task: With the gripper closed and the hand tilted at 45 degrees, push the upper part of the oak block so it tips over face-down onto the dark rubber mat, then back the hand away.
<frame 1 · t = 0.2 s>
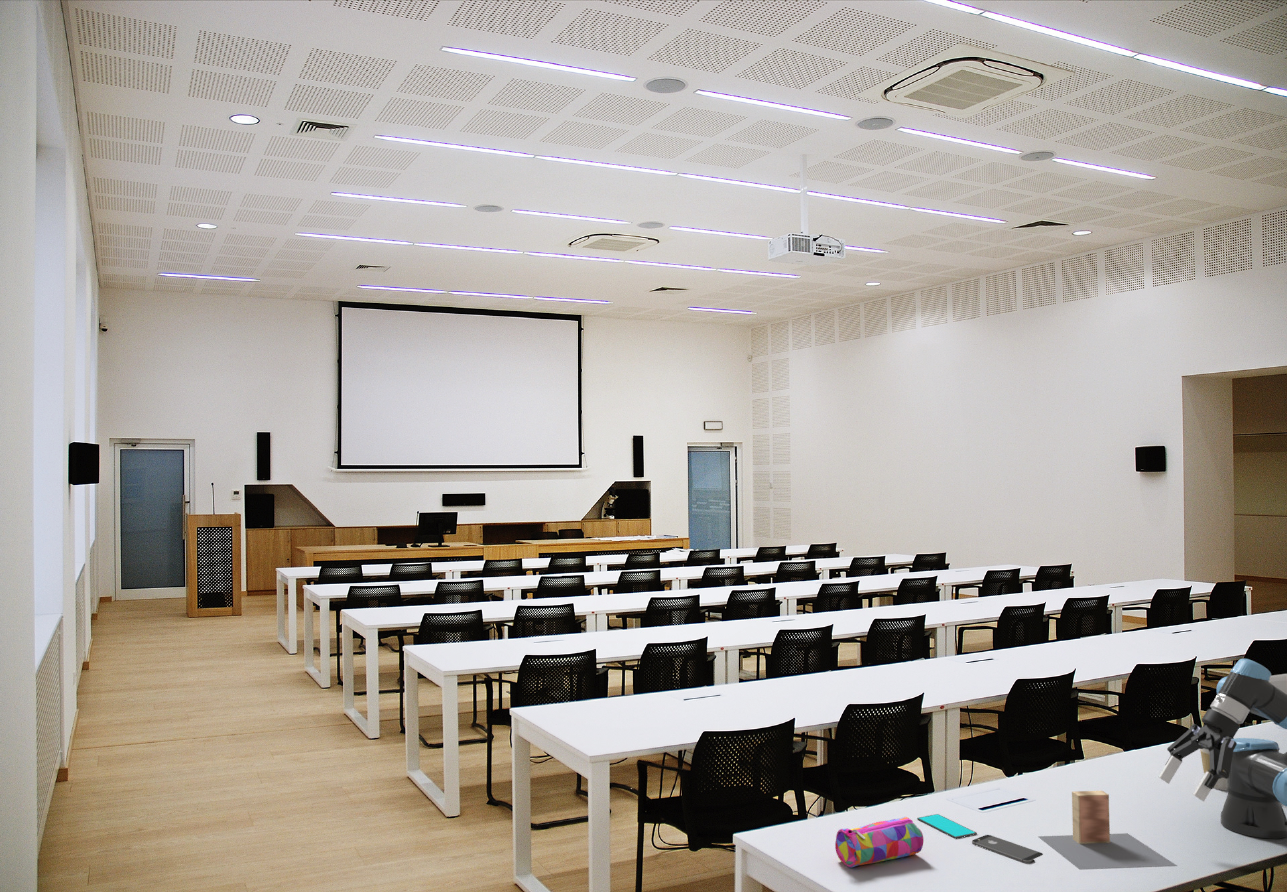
hand: (1180, 789, 229), 15 cm above the table, tool tilted 35°, fingers open, 13 cm apart
phone: (1007, 851, 231), on the table
pencil case: (879, 860, 225), on the table
oak block: (1091, 840, 234), point 1 cm above the table, touching rubber mat
coffee cup: (1218, 786, 276), on the table
smartphone: (946, 829, 246), on the table
rubber mat: (1104, 852, 228), on the table
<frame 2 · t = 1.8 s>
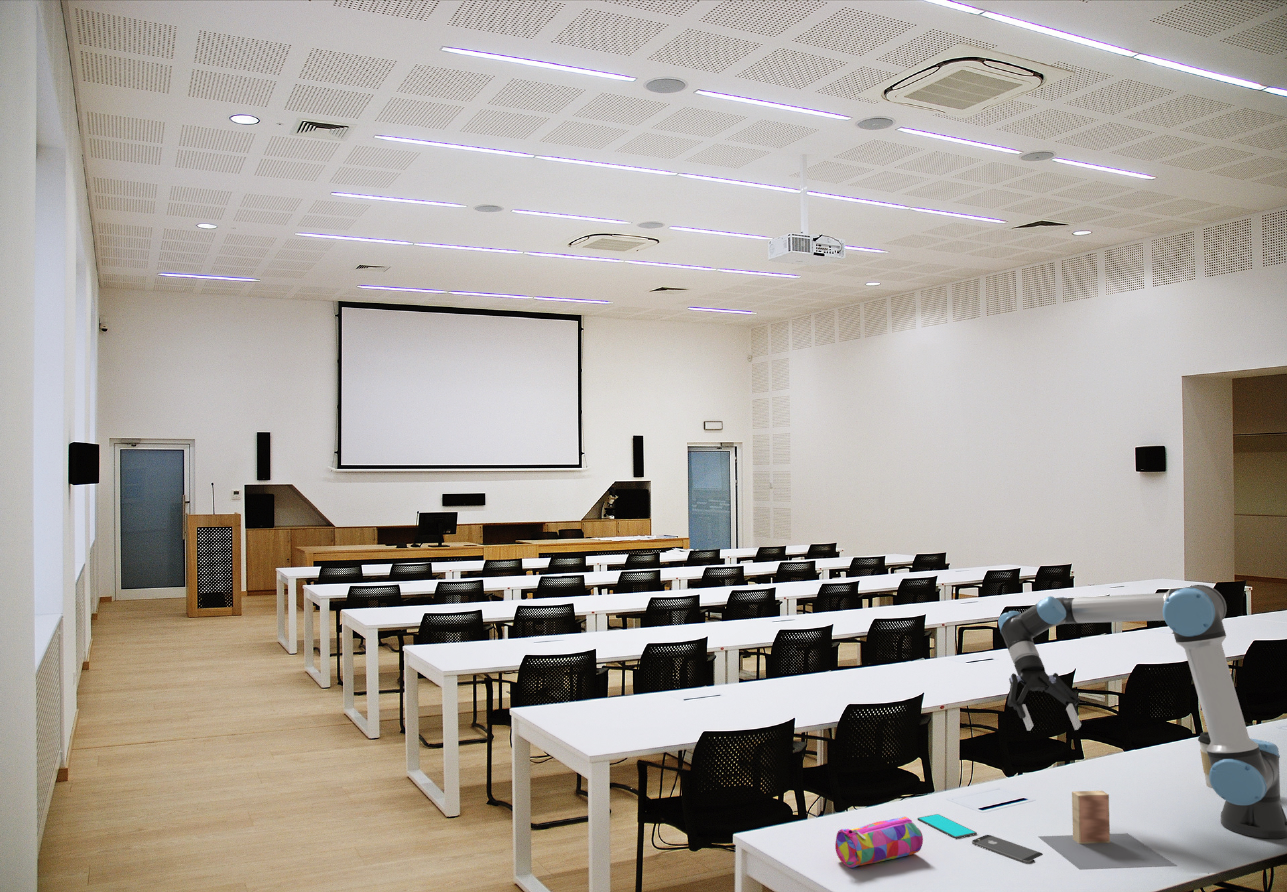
hand: (1054, 727, 253), 24 cm above the table, tool tilted 45°, fingers open, 13 cm apart
nothing on the table moved.
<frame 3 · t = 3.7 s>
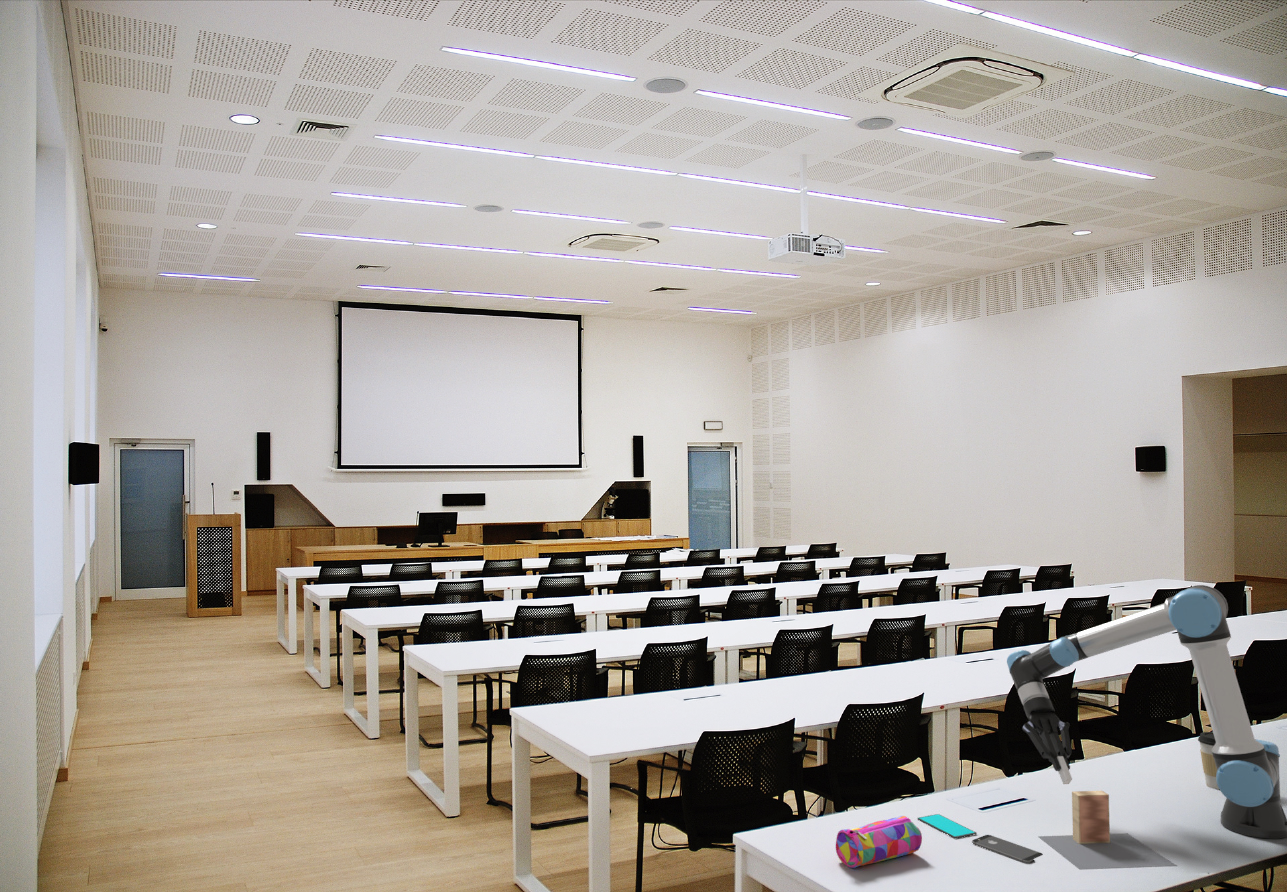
hand: (1067, 781, 244), 12 cm above the table, tool tilted 45°, fingers closed
nothing on the table moved.
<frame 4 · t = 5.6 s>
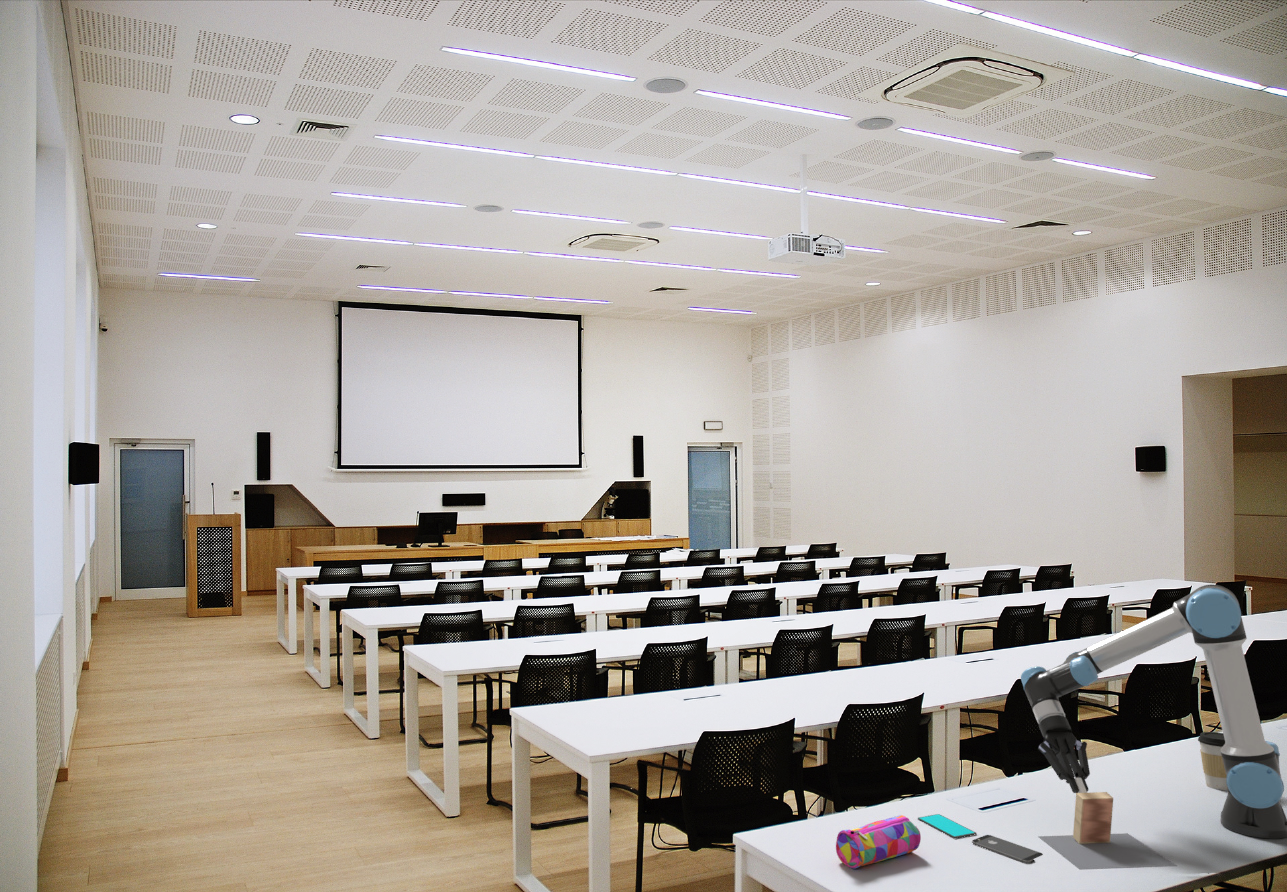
hand: (1086, 804, 236), 9 cm above the table, tool tilted 45°, fingers closed
oak block: (1091, 839, 234), point 1 cm above the table, tilted 10°, touching rubber mat
everything else where it was.
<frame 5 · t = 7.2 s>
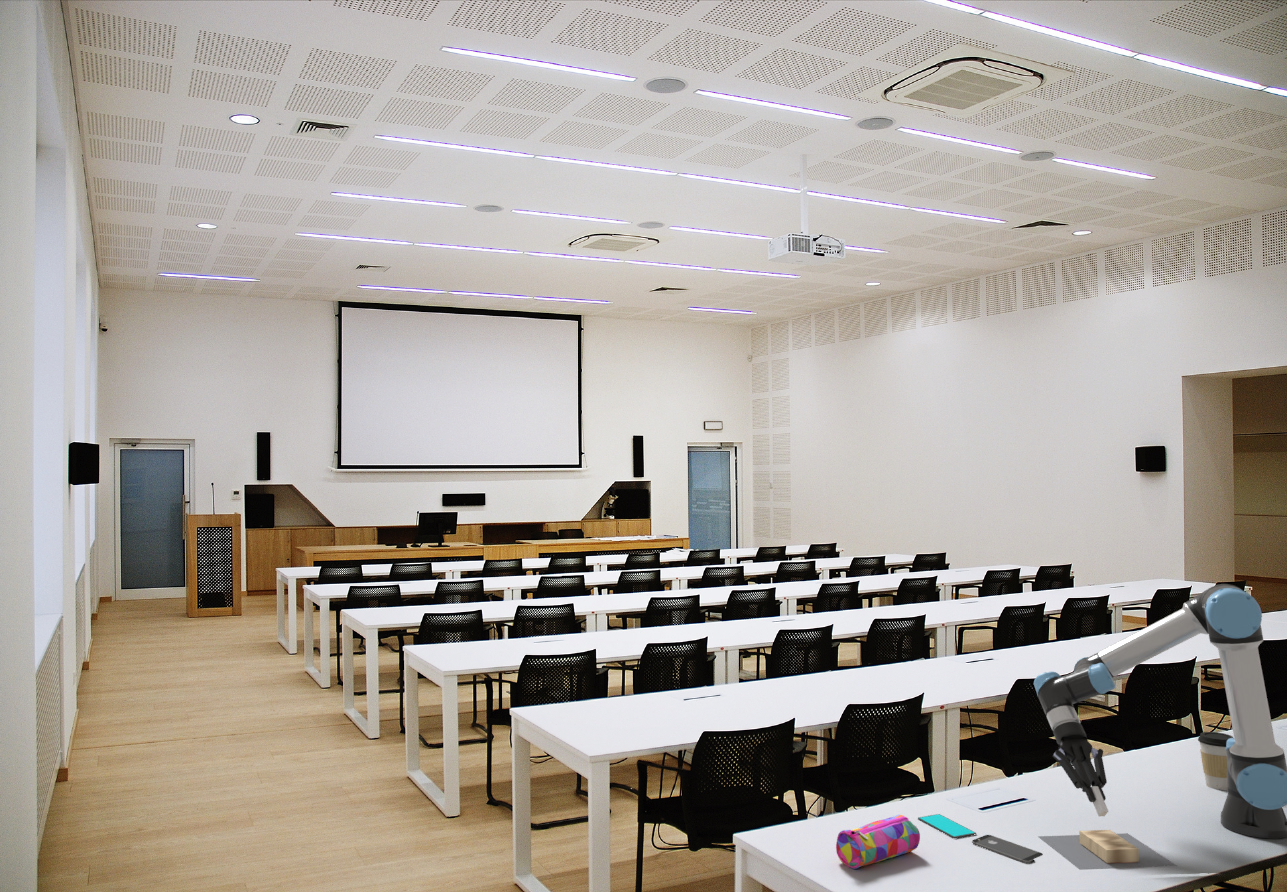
hand: (1103, 813, 229), 10 cm above the table, tool tilted 45°, fingers closed
oak block: (1094, 836, 233), point 2 cm above the table, tilted 90°, touching rubber mat
everything else where it was.
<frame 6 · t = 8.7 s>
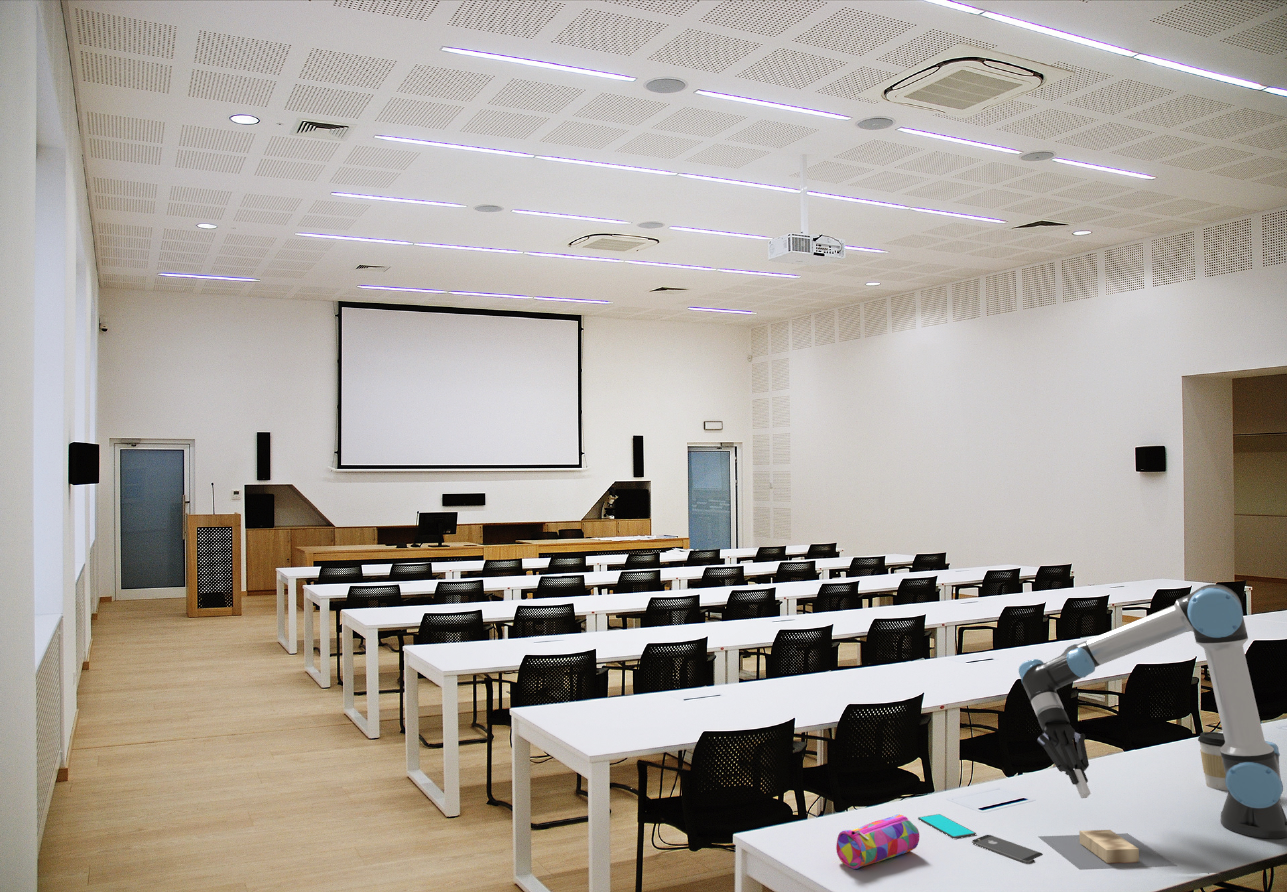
hand: (1085, 795, 237), 11 cm above the table, tool tilted 45°, fingers closed
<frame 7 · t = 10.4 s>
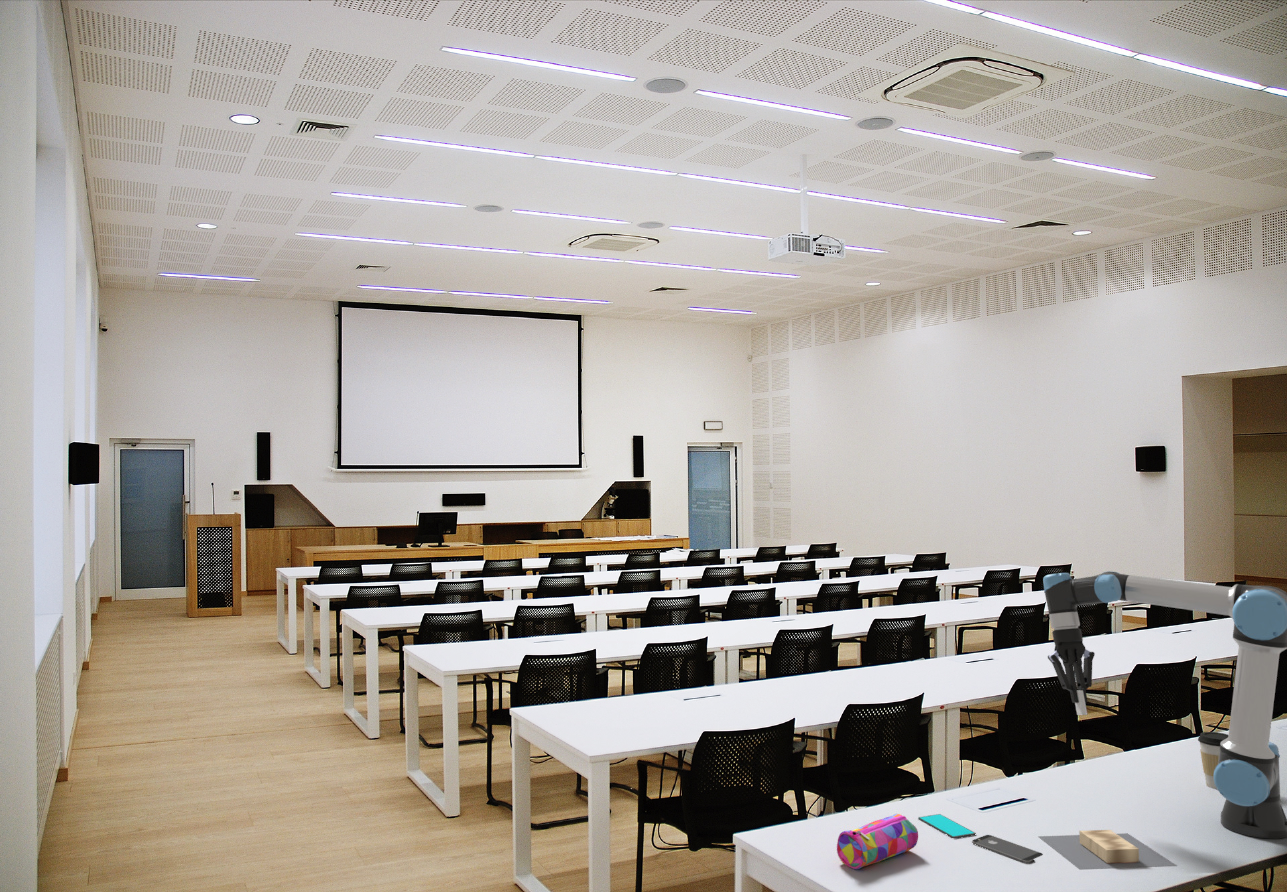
hand: (1082, 714, 256), 27 cm above the table, tool pointing down, fingers closed
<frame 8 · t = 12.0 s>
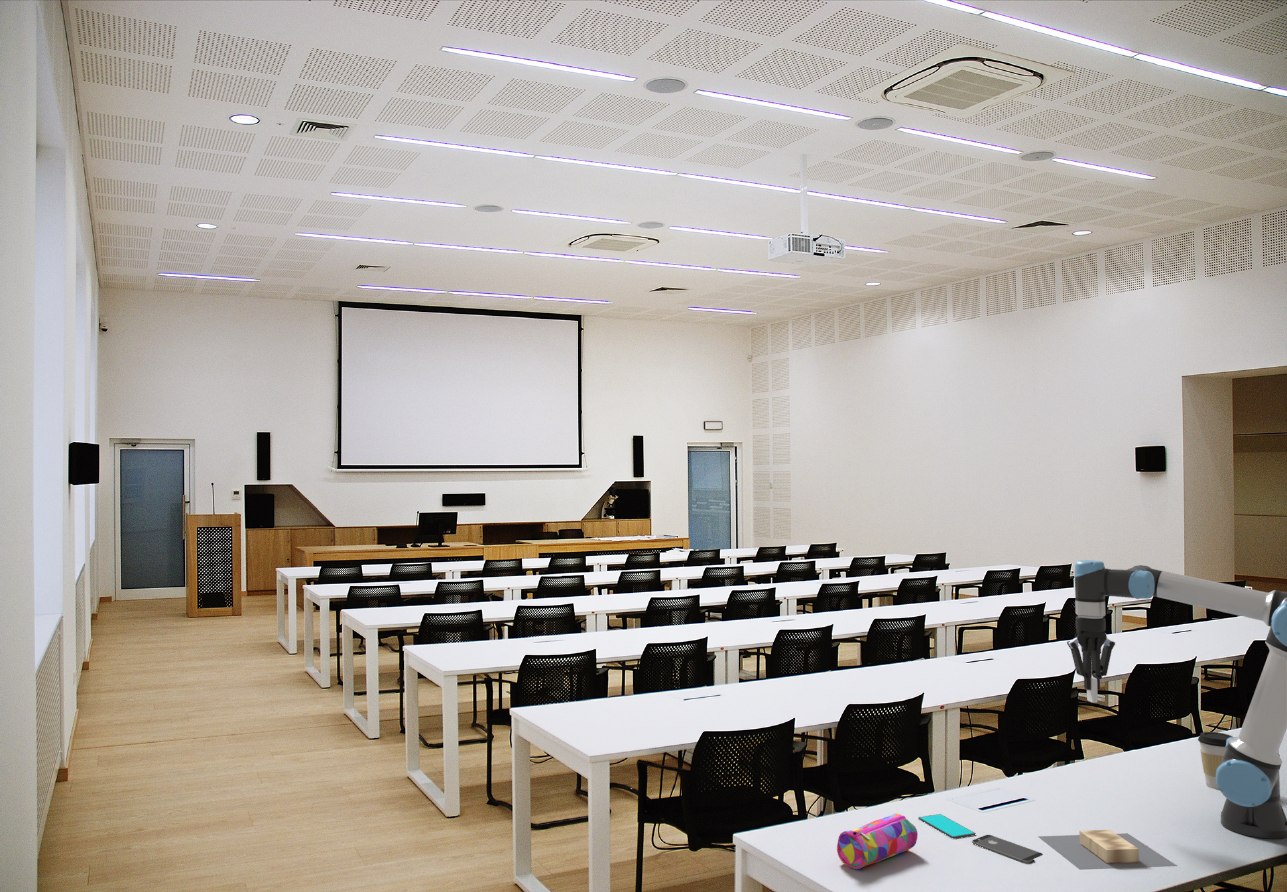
hand: (1092, 701, 257), 30 cm above the table, tool pointing down, fingers closed
at the end: oak block tilted 90°; oak block inside the target area on the rubber mat (3.3 cm from its centre), point 2.4 cm above the rubber mat's base; the gripper is holding nothing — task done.
